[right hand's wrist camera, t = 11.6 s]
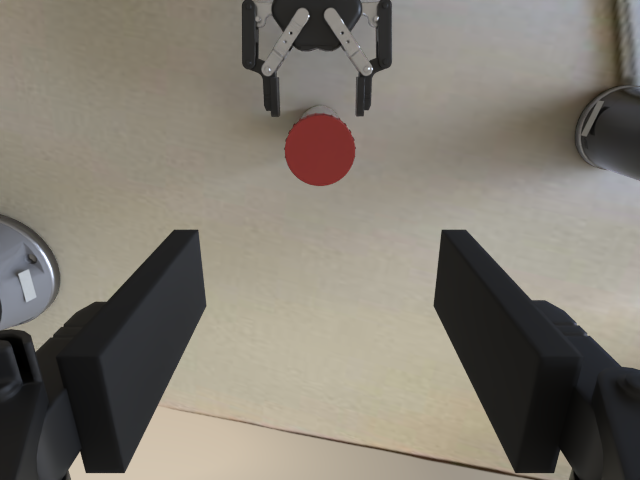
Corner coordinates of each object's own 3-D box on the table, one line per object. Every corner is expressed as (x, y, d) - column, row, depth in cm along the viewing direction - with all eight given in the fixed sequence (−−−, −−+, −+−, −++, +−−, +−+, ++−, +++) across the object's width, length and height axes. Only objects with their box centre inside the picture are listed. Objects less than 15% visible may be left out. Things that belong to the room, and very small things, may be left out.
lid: (285, 179, 38) (283, 185, 36) (286, 110, 36) (284, 112, 34) (351, 182, 38) (353, 188, 36) (356, 113, 36) (358, 116, 34)
